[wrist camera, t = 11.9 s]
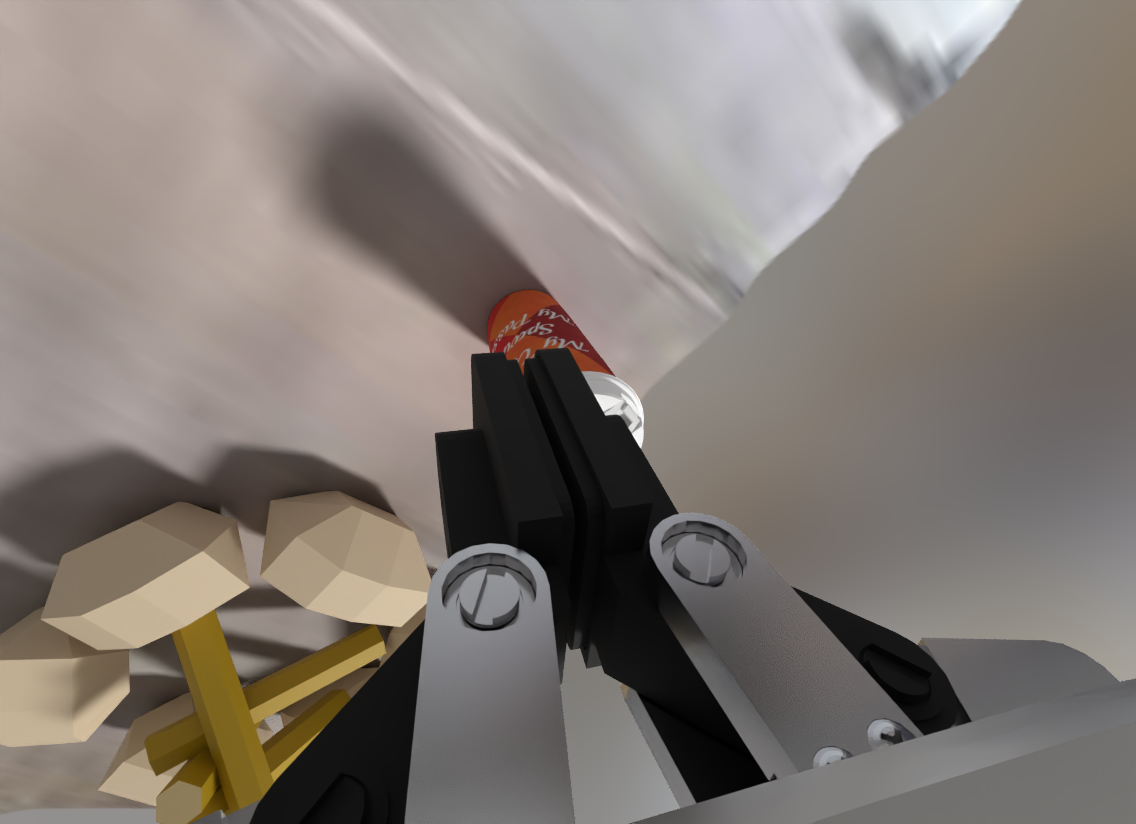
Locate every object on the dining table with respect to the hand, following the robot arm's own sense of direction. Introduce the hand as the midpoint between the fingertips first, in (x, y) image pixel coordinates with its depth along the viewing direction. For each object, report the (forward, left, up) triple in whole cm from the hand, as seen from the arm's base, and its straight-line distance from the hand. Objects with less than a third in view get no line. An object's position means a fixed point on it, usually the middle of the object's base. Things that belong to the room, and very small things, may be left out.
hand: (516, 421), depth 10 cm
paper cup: (+12, +6, -27) cm, 30 cm away
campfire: (+40, -16, -28) cm, 51 cm away
